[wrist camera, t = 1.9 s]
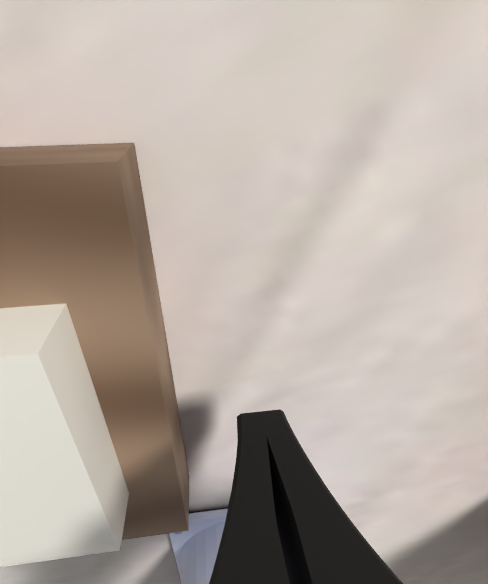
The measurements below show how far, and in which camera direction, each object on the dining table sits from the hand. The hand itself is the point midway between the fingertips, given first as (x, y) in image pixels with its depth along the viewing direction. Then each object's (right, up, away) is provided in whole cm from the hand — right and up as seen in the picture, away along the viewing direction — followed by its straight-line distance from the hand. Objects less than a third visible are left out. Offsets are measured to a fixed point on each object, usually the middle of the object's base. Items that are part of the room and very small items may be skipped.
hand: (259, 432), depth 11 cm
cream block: (-8, 0, 0) cm, 8 cm away
